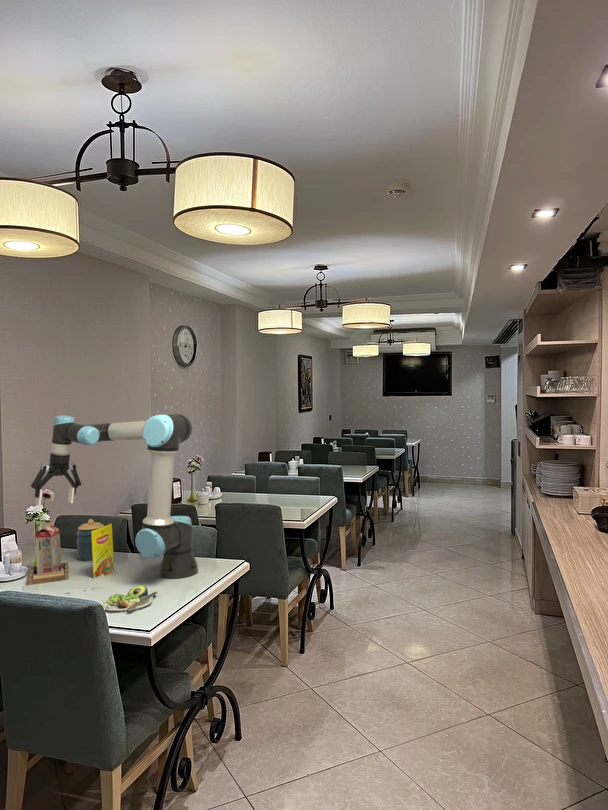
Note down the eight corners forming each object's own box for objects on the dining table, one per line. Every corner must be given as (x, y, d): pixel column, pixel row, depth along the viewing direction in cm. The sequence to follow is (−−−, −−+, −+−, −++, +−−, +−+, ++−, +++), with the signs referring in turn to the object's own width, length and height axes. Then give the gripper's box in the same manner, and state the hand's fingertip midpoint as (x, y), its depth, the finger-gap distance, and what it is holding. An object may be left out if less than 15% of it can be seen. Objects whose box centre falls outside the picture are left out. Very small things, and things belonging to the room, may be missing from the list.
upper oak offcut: (64, 578, 233) (64, 573, 233) (33, 583, 229) (33, 577, 229) (64, 575, 237) (64, 570, 237) (34, 579, 233) (34, 574, 233)
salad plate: (155, 612, 194) (154, 598, 194) (98, 618, 191) (97, 604, 191) (158, 594, 213) (157, 581, 213) (106, 599, 210) (105, 586, 210)
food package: (95, 582, 231) (92, 531, 231) (92, 582, 231) (90, 531, 231) (115, 571, 246) (112, 523, 246) (112, 570, 246) (110, 523, 246)
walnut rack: (68, 583, 231) (68, 574, 231) (28, 588, 226) (28, 579, 226) (68, 570, 251) (68, 561, 251) (31, 575, 245) (30, 566, 245)
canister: (78, 555, 275) (76, 518, 275) (107, 552, 279) (105, 515, 279) (76, 562, 263) (74, 523, 263) (107, 559, 267) (105, 520, 267)
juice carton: (61, 574, 245) (59, 521, 245) (53, 578, 238) (50, 524, 238) (46, 574, 246) (43, 521, 246) (37, 579, 239) (35, 524, 239)
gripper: (84, 450, 254) (78, 498, 255) (25, 451, 235) (19, 503, 236) (93, 454, 249) (87, 503, 250) (33, 455, 230) (27, 509, 231)
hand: (54, 503), depth 243 cm, fingers open, 13 cm apart
